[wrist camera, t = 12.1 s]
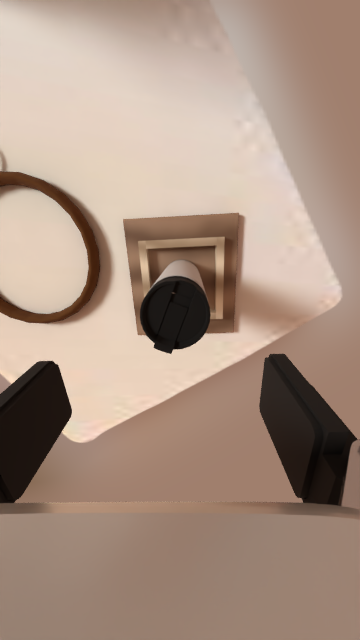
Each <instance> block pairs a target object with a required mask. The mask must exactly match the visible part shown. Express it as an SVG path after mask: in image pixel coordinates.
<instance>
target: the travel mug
mask: <svg viewBox="0 0 360 640" xmlns="http://www.w3.org/2000/svg"><path fill="white" fill-rule="evenodd" d="M210 316H211V314H210V307H209V304H208V298H207V295H206V292H205V289H204V286H203V283H202V280H201V277H200V274H199V271H198V269H197V267H196V266H195V265H194V264H193V263H192V262H190V261H187V260H176V261H173V262H172V263H170V264H169V265H168V266H167V268H166V269H165V270H164V271H163V273H162V274H161V275H160V277H159V278H158V279H157V280H156V282H155V283H154V284H153V286H152V287H151V288H150V290H149V291H148V293H147V295H146V296H145V297H144V299H143V302H142V304H141V308H140V321H141V325H142V328H143V330H144V332H145V334H146V335H147V336H148V337H149V338H150V340H152V341H153V342H154V343H155V345H154V348H155V349H157V350H160V351H163V352H166V353H170V354H171V353H172V351H173V349H183V348H186V347H189V346H191V345H193V344H195V343H196V342H197V341H199V340H200V339H201V338H202V337H203V335H204V334H205V332H206V331H207V329H208V326H209V323H210Z"/></svg>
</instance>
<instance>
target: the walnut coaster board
mask: <svg viewBox="0 0 360 640" xmlns="http://www.w3.org/2000/svg"><path fill="white" fill-rule="evenodd" d="M238 218H239V213H229V214H211V215H193V216H176V217H158V218H140V219H123V223H124V230H125V238H126V246H127V254H128V262H129V269H130V277H131V285H132V293H133V301H134V309H135V316H136V324H137V332H138V335H146V334H145V332H144V330H143V328H142V325H141V321H140V308H141V304H142V302H143V299H144V297H145V296H146V295H147V293H148V291H149V290H150V288H151V287H152V286H153V284H154V283H155V282H156V280H157V279H158V278H159V277H160V275H161V274H162V273H163V271H164V270H165V269H166V268H167V266H168V265H169V264H170V263H172V262H173V261H176V260H187V261H190V262H192V263H193V264H194V265H195V266H196V267H197V269H198V271H199V274H200V277H201V280H202V283H203V286H204V289H205V292H206V295H207V298H208V304H209V307H210V314H211V316H210V323H209V326H208V329H207V331H206V332H205V333H225V332H234V309H235V287H236V264H237V241H238Z"/></svg>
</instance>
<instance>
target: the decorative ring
mask: <svg viewBox="0 0 360 640" xmlns="http://www.w3.org/2000/svg"><path fill="white" fill-rule="evenodd" d="M6 184H11V185H24V186H27V187H31V188H34V189H37V190H40V191H41V192H43V193H44V194H46V195H47V196H49V197H51V198H52V199H54V200H55V201H56V202H57V203H58V204H59V205H60V206H61V207H62V208H63V209H64V210H65V211H66V212H67V213H68V214H69V215H70V216H71V218H72V219H73V221H74V222H75V224H76V226H77V227H78V229H79V230H80V232H81V235H82V237H83V240H84V243H85V246H86V249H87V255H88V265H89V270H88V276H87V282H86V285H85V287H84V289H83V291H82V293H81V295H80V297H79V298H78V299H77V300H76V301H75V302H74V303H73V304H72V305H71V306H70V307H68V308H66V309H64V310H62V311H60V312H56V313H51V314H35V313H31V312H28V311H24V310H21V309H19V308H17V307H15V306H13V305H11V304H9V303H7V302H5V301H4V300H3V299H2V298H1V297H0V312H1V313H3V314H5V315H7V316H9V317H11V318H14V319H18V320H21V321H25V322H28V323H50V322H55V321H60V320H64V319H66V318H67V317H69V316H71V315H73V314H75V313H77V312H78V311H79V310H80V309H81V308H82V307H83V306H84V305H85V304H86V303H87V302H88V301H89V300H90V298H91V296H92V294H93V292H94V290H95V288H96V286H97V281H98V276H99V270H100V264H99V251H98V247H97V244H96V241H95V238H94V235H93V232H92V229H91V228H90V226H89V224H88V223H87V221H86V219H85V218H84V216H83V214H82V213H81V211H80V210H79V209H78V208H77V207H76V206H75V205H74V204H73V203H72V202H71V201H70V200H69V199H68V198H67V196H66V195H65V194H64V193H62V192H61V191H59V190H57V189H56V188H54V187H53V186H51V185H50V184H48V183H47V182H45V181H44V180H41V179H38V178H35V177H32V176H29V175H26V174H23V173H20V172H0V186H3V185H6Z"/></svg>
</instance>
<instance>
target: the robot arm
mask: <svg viewBox="0 0 360 640" xmlns="http://www.w3.org/2000/svg"><path fill="white" fill-rule="evenodd" d="M260 413H261V415H262V418H263V420H264V422H265V425H266V427H267V429H268V432H269V434H270V436H271V439H272V441H273V443H274V446H275V448H276V450H277V453H278V455H279V458H280V460H281V462H282V465H283V467H284V469H285V472H286V474H287V476H288V479H289V481H290V484H291V486H292V488H293V491H294V493H295V495H296V496H297V497H298V498H302V500H303V503H284V502H74V503H73V502H70V503H69V502H65V503H14V502H15V501H16V500H17V499H19V498H20V497H21V496H22V494H23V493H24V491H25V490H26V488H27V487H28V485H29V483H30V482H31V480H32V478H33V477H34V475H35V474H36V472H37V470H38V469H39V467H40V465H41V464H42V462H43V461H44V459H45V458H46V456H47V454H48V453H49V451H50V450H51V448H52V446H53V444H54V443H55V442H56V440H57V438H58V437H59V435H60V434H61V432H62V430H63V429H64V427H65V425H66V424H67V422H68V421H69V419H70V417H71V414H72V409H71V405H70V402H69V399H68V396H67V392H66V389H65V386H64V382H63V379H62V376H61V373H60V369H59V366H58V365H57V364H55V363H54V362H53V361H39V362H37V363H36V364H34V365H33V366H32V367H31V368H30V369H29V370H28V371H26V372H25V373H24V374H23V375H22V376H21V377H19V378H18V379H17V380H16V381H15V382H14V383H13V384H11V385H10V386H9V387H8V388H7V389H6V390H5V391H3V392H2V393H1V394H0V640H360V439H357V438H356V437H355V436H354V435H353V434H352V432H351V431H350V430H349V429H348V428H347V426H346V425H345V424H344V423H343V422H342V420H341V419H340V418H339V417H338V416H337V415H336V413H335V412H334V411H333V410H332V409H331V408H330V406H329V405H328V404H327V403H326V401H325V400H324V399H323V398H322V397H321V396H320V394H319V393H318V392H317V391H316V390H315V388H314V387H313V386H312V385H310V384H309V383H308V381H307V380H306V379H305V378H304V377H303V375H302V374H301V373H300V372H299V371H298V370H297V368H296V367H295V366H294V365H293V364H292V362H291V361H290V360H289V359H288V357H287V356H286V355H285V354H270V355H269V358H265V362H264V371H263V379H262V388H261V397H260Z"/></svg>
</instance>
